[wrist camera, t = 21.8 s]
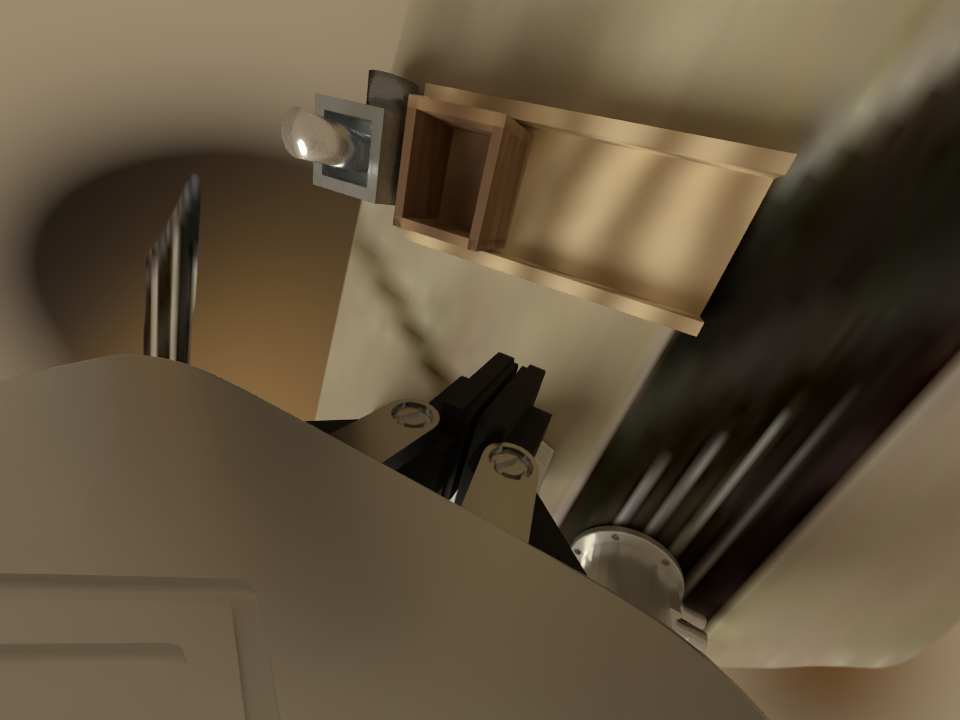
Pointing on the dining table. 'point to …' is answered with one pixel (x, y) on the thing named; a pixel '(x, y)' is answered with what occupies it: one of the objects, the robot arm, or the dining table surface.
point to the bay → (623, 209)
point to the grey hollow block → (387, 133)
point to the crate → (460, 173)
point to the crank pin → (325, 141)
